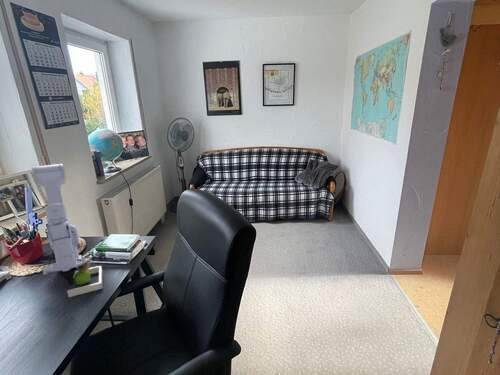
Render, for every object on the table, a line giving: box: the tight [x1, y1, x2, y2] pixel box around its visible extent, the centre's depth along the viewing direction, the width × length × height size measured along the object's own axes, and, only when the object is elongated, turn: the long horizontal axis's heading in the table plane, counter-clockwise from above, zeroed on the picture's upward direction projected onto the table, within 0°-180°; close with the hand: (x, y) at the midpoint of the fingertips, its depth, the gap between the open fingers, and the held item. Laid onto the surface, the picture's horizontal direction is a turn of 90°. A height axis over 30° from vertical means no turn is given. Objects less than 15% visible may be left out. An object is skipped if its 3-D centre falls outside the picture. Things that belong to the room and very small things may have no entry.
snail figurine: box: [73, 256, 92, 285], centre depth 103 cm, size 5×6×12 cm
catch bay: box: [66, 265, 103, 298], centre depth 104 cm, size 13×11×2 cm
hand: (71, 284), depth 102 cm, fingers closed
